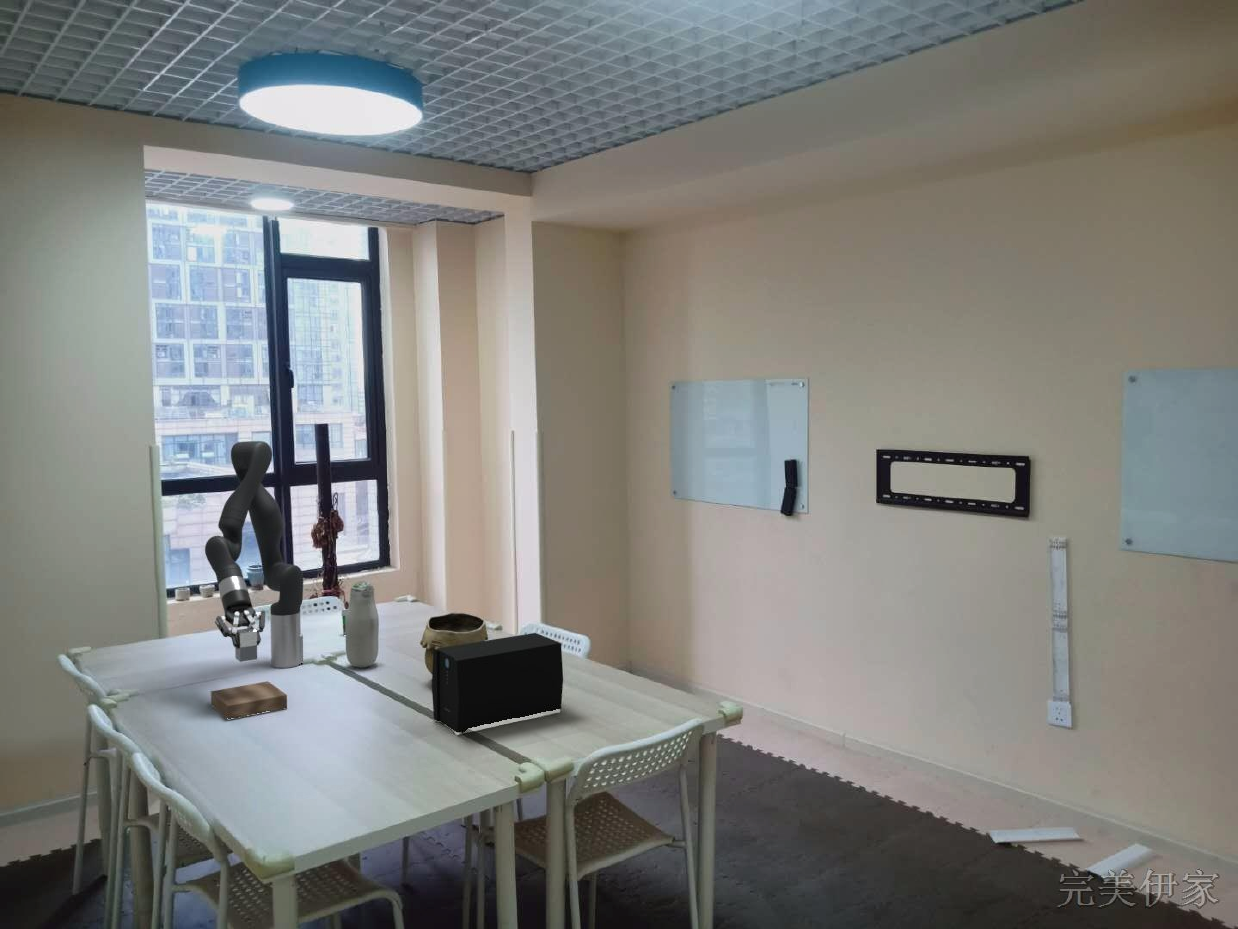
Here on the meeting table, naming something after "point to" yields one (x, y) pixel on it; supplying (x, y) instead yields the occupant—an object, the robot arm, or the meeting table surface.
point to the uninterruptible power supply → (496, 680)
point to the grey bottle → (362, 626)
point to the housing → (247, 645)
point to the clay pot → (451, 633)
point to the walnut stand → (248, 700)
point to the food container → (344, 620)
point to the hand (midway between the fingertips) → (248, 645)
